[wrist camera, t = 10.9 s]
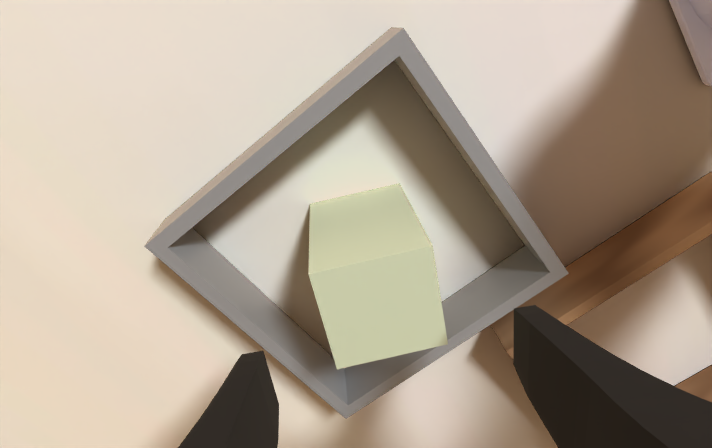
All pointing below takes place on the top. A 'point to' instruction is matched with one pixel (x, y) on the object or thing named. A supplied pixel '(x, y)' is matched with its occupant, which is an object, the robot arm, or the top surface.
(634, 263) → the walnut bin
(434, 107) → the grey bin
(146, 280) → the top surface
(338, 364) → the sage block
